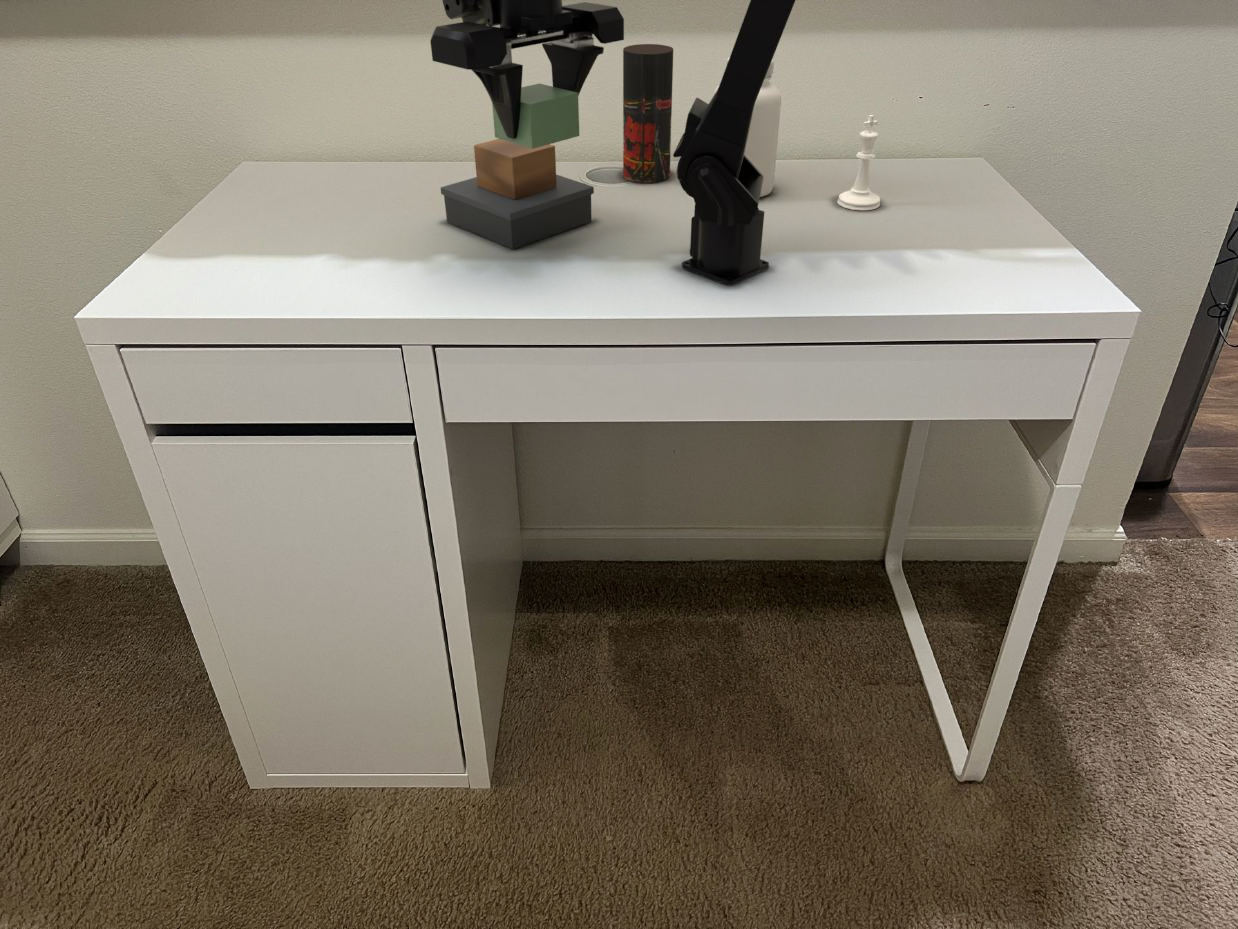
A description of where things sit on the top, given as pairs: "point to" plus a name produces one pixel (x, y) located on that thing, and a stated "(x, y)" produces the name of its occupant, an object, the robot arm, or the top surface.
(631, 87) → the deodorant
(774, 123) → the pill bottle
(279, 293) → the top surface
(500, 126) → the sage box
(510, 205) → the storage box
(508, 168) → the oak box
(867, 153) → the chess piece
